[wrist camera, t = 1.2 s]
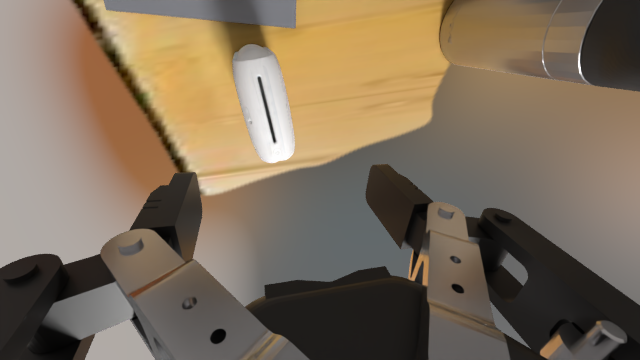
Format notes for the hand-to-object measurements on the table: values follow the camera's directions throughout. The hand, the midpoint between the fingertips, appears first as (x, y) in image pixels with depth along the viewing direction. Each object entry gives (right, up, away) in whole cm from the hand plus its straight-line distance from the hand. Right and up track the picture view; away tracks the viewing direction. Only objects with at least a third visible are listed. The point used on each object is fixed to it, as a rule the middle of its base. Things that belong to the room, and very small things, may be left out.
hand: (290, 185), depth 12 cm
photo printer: (-6, +12, +20) cm, 24 cm away
